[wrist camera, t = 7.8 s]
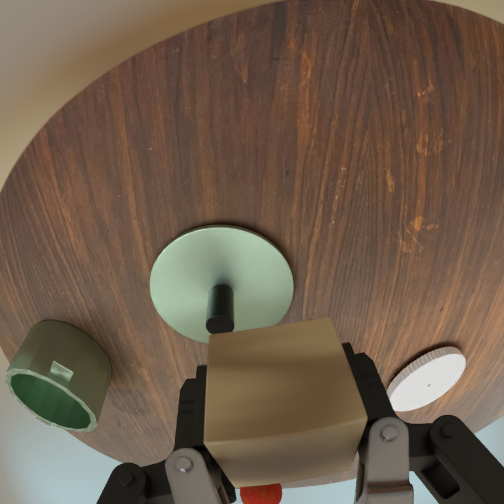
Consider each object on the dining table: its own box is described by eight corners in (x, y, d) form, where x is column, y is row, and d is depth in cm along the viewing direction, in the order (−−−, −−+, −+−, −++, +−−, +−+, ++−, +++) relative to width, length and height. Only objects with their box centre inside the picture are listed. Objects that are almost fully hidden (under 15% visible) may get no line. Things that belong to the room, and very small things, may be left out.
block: (231, 400, 13) (234, 488, 9) (208, 333, 11) (202, 444, 7) (327, 385, 13) (350, 470, 9) (331, 314, 11) (369, 418, 7)
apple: (283, 468, 55) (288, 511, 45) (246, 474, 56) (248, 516, 46) (273, 456, 51) (279, 504, 41) (232, 463, 52) (234, 509, 42)
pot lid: (129, 297, 30) (114, 335, 25) (201, 191, 26) (194, 217, 21) (236, 354, 35) (238, 392, 30) (320, 273, 30) (336, 309, 25)
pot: (24, 362, 36) (4, 403, 28) (43, 288, 29) (8, 338, 22) (93, 401, 40) (80, 445, 32) (133, 343, 34) (117, 401, 26)
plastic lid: (386, 409, 45) (390, 420, 43) (381, 367, 39) (386, 381, 36) (454, 377, 43) (460, 387, 41) (462, 328, 37) (470, 339, 34)
